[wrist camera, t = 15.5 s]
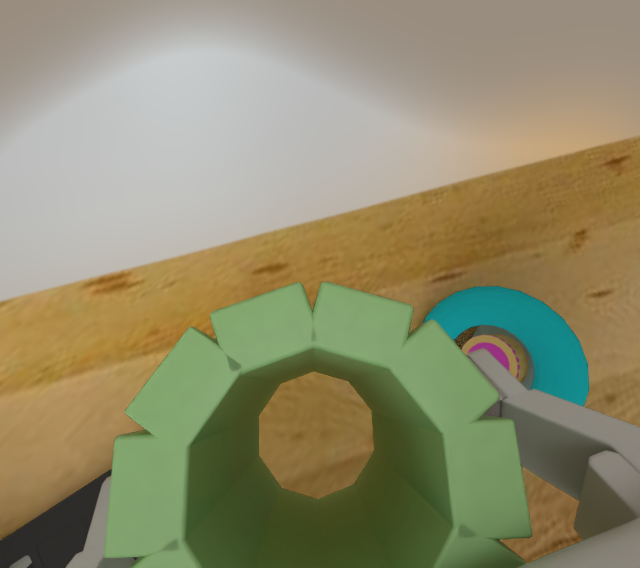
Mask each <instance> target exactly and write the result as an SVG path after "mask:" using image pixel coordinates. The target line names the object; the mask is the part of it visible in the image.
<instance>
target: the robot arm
mask: <svg viewBox="0 0 640 568" xmlns="http://www.w3.org/2000/svg"><path fill="white" fill-rule="evenodd" d="M465 355H466V356H467V357H468V358H469V359H470V360H471V362H472V363H473V364H474V365H475V366H476V367H477V368H478V370H479V371H480V372H481V373H482V374H483V375H484V376H485V378H486V379H487V380H488V381H489V382H490V383H491V385H492V386H493V387H494V388H495V389H496V390H497V391H498V393H499V395H500V398H499V400H498V401H497V402H496V403H495V404H494V405H493V406H491V407H490V408H489V409H488V410H487V411H486V412H485V413H484V414H483V415H487V416H494V417H501V418H508V419H512V420H513V421H514V424H515V430H516V437H517V443H518V449H519V455H520V461H521V466H522V467H524V468H525V469H527V470H529V471H530V472H532V473H534V474H535V475H537V476H539V477H540V478H542V479H544V480H545V481H547V482H549V483H550V484H552V485H554V486H555V487H557V488H559V489H560V490H562V491H564V492H565V493H567V494H569V495H570V496H572V497H574V498H575V499H577V500H579V503H578V508H577V512H576V517H575V522H574V529H575V530H576V531H577V533H578V534H579V535H580V537H581V538H582V539H583V541H581V542H578V543H576V544H573V545H571V546H568V547H566V548H563V549H561V550H559V551H556V552H554V553H551V554H549V555H546V556H544V557H541V558H539V559H537V560H534V561H532V562H529V563H527V564H524V565H522V566H519V567H517V568H640V427H639V426H636V425H633V424H630V423H627V422H625V421H622V420H619V419H616V418H614V417H611V416H608V415H605V414H603V413H600V412H597V411H594V410H591V409H589V408H586V407H583V406H580V405H578V404H575V403H572V402H569V401H567V400H564V399H561V398H558V397H556V396H553V395H550V394H547V393H544V392H542V391H539V390H536V389H531V390H527V389H526V388H525V387H524V386H523V385H522V384H521V383H520V382H519V381H518V380H517V379H516V378H515V377H514V376H513V375H512V374H511V373H510V372H509V371H508V370H507V369H506V368H505V367H504V366H503V365H502V364H501V363H500V362H499V361H498V360H497V359H496V358H495V357H494V356H493V355H492V354H491V353H490V352H489V351H488V350H486V349H484V348H481V349H478V350H475V351H472V352H470V353H467V354H465ZM110 483H111V476H110V477H107V478H106V480H105V481H104V482H103V484H102V486H101V490H100V493H99V497H98V500H97V504H96V507H95V511H94V514H93V518H92V521H91V525H90V528H89V532H88V535H87V539H86V543H85V546H84V550H83V551H82V552H80V553H77V554H76V555H75V556H74V557H73V559H72V560H71V561H70V563H69V564H68V565H67V566H66V568H128V567H129V566H130V565H131V564H132V563H134V562H135V561H136V560H137V559H138V558H139V557H126V558H106V557H104V545H105V535H106V525H107V514H108V504H109V493H110Z"/></svg>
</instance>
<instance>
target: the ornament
mask: <svg viewBox="0 0 640 568" xmlns="http://www.w3.org/2000/svg"><path fill="white" fill-rule="evenodd" d="M432 319H433V320H435V321H437V323H438V324H439V325H440V326H441V327H442V328H443V329H444V331H445V332H446V333H447V334H448V335H449V336H450V338H451V339H452V340H453V341H454V340H455V339H456V338H457V337H458V336H459V335H460V334H461V333H462V332H463V331H465V330H467V329H469V328H471V327H475V326H478V328H477V330H476V331H475V333H474V335H473V336H472V338H471V339H470V340H468V341H467V342H466V343H465V344H464V346H463V347H462V349H461V350H462V351H463V352H464V354H467V353H470V352H472V351H475V350H478V349H481V348H484V349H486V350H488V351H489V352H490V353H491V354H492V355H493V356H494V357H495V358H496V359H497V360H498V361H499V362H500V363H501V364H502V365H503V366H504V367H505V368H506V369H507V370H508V371H509V372H510V373H511V374H512V375H513V376H514V377H515V378H516V379H517V380H518V381H519V382H520V383H521V384H522V385H523V386H524V387H525V388H526V389H527V390H531V389H536V390H539V391H542V392H544V393H547V394H550V395H553V396H556V397H558V398H561V399H564V400H567V401H569V402H572V403H575V404H578V405H580V406H583V407H584V404H585V401H586V398H587V395H588V391H589V376H588V363H587V360H586V358H585V355H584V352H583V350H582V347H581V344H580V341H579V339H578V338H577V337H576V335H575V334H574V333H573V331H572V330H571V328H570V327H569V326H568V324H567V323H566V322H565V320H564V319H563V318H562V317H561V316H559V315H558V314H557V313H556V312H555V311H553V310H552V309H551V308H550V307H549V306H547V305H546V304H545V303H544V302H542V301H540V300H538V299H536V298H534V297H532V296H529V295H527V294H525V293H523V292H521V291H517V290H513V289H508V288H504V287H499V286H484V287H473V288H469V289H466V290H462V291H459V292H456V293H454V294H452V295H450V296H449V297H447V298H445V299H444V300H442V301H440V302H439V303H438V304H437V305H436V306H435V307H434V308H433V309H432V310H431V311H430V312H429V314H428V315H427V316H426V318H425V320H424V322H423V324H424V323H425V322H427V321H428V320H432Z"/></svg>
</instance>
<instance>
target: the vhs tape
mask: <svg viewBox="0 0 640 568" xmlns="http://www.w3.org/2000/svg"><path fill="white" fill-rule="evenodd" d="M111 473H112V469H111V470H109V471H108V472H106V473H104V474H103V475H101V476H100V477H98V478H97V479H95V480H94V481H92V482H91V483H89V484H87V485H86V486H84V487H83V488H81V489H80V490H78V491H77V492H75V493H74V494H72V495H71V496H69V497H67V498H66V499H64V500H63V501H61V502H60V503H58V504H57V505H55V506H54V507H52V508H50V509H49V510H47V511H46V512H44V513H43V514H41V515H40V516H38V517H37V518H35V519H33V520H32V521H30V522H29V523H27V524H26V525H24V526H23V527H21V528H20V529H18V530H16V531H15V532H13V533H12V534H10V535H9V536H7V537H6V538H4V539H3V540H1V541H0V568H66V566H67V565H68V564H69V563H70V561H71V560H72V559H73V557H74V556H75V555H76V554H77V553H80V552H82V551H83V550H84V546H85V543H86V539H87V535H88V532H89V528H90V525H91V521H92V518H93V514H94V511H95V507H96V504H97V500H98V497H99V493H100V490H101V486H102V484H103V482H104V481H105V480H106V478H107V477H110V476H111Z"/></svg>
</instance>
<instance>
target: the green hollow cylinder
mask: <svg viewBox="0 0 640 568" xmlns="http://www.w3.org/2000/svg"><path fill="white" fill-rule="evenodd" d="M412 316H413V307H412V306H411V305H410V304H407V303H403V302H399V301H396V300H392V299H388V298H385V297H381V296H378V295H374V294H370V293H367V292H363V291H359V290H356V289H352V288H348V287H345V286H341V285H338V284H334V283H330V282H322V284H321V285H320V287H319V291H318V294H317V298H316V301H315V304H314V308H313V311H312V308H311V305H310V303H309V300H308V297H307V295H306V292H305V289H304V286H303V285H302V283H301V282H296V283H293V284H290V285H287V286H284V287H282V288H279V289H276V290H273V291H270V292H267V293H264V294H261V295H259V296H256V297H253V298H250V299H247V300H244V301H241V302H238V303H236V304H233V305H230V306H227V307H224V308H221V309H218V310H216V311H213V312H212V313H211V315H210V319H211V322H212V325H213V329H214V332H215V335H216V339H215V338H213V337H211V336H209V335H207V334H206V333H204V332H202V331H200V330H198V329H196V328H194V327H191V326H190V327H189V328H188V329H187V331H186V332H185V333H184V334H183V336H182V337H181V338H180V340H179V341H178V342H177V344H176V345H175V346H174V347H173V349H172V350H171V351H170V353H169V354H168V355H167V357H166V358H165V359H164V360H163V362H162V363H161V364H160V366H159V367H158V368H157V370H156V371H155V372H154V373H153V375H152V376H151V377H150V379H149V380H148V381H147V383H146V384H145V385H144V386H143V388H142V389H141V390H140V392H139V393H138V394H137V396H136V397H135V398H134V399H133V401H132V402H131V403H130V405H129V406H128V407H127V409H126V410H125V413H126V415H128V416H129V417H130V418H132V419H133V420H134V421H135V422H137V423H138V424H139V425H141V426H142V427H143V428H145V430H141V431H136V432H132V433H128V434H123V435H120V436H117V437H116V439H115V441H114V452H113V462H112V473H111V483H110V493H109V504H108V514H107V525H106V535H105V545H104V557H106V558H126V557H139V558H138V559H137V560H136V561H135V562H134V563H132V564H131V565H130V566H129V567H128V568H517V567H519V566H522V565H524V564H527V563H526V561H524V560H523V559H522V558H521V557H520V556H518V555H517V554H516V553H515V552H513V551H512V550H511V549H510V548H508V547H507V546H506V545H505V544H503V543H502V542H501V541H500V540H498V539H513V538H530V537H532V528H531V522H530V516H529V510H528V504H527V498H526V492H525V486H524V479H523V473H522V467H521V461H520V455H519V449H518V443H517V437H516V430H515V424H514V421H513V420H512V419H508V418H501V417H494V416H487V415H483V414H484V413H485V412H486V411H487V410H488V409H489V408H490V407H491V406H493V405H494V404H495V403H496V402H497V401H498V400H499V398H500V395H499V393H498V391H497V390H496V389H495V388H494V387H493V386H492V385H491V383H490V382H489V381H488V380H487V379H486V378H485V376H484V375H483V374H482V373H481V372H480V371H479V370H478V368H477V367H476V366H475V365H474V364H473V363H472V362H471V360H470V359H469V358H468V357H467V356H466V355H465V354H464V352H463V351H462V350H461V349H460V348H459V347H458V346H457V344H456V343H455V342H454V341H453V340H452V339H451V338H450V336H449V335H448V334H447V333H446V332H445V331H444V329H443V328H442V327H441V326H440V325H439V324H438V323H437V321H435V320H433V319H432V320H428V321H427V322H425V323H424V324H422V325H420V326H419V327H417V328H415V329H414V330H412V331H411V332H409V329H410V325H411V320H412ZM313 371H315V372H319V373H322V374H325V375H329V376H332V377H336V378H339V379H343V380H346V381H349V382H350V384H351V385H352V386H353V388H354V389H355V390H356V391H357V393H358V394H359V395H360V397H361V398H362V399H363V400H364V402H365V403H366V404H367V405H368V407H369V408H370V409H371V411H372V425H373V439H374V451H373V453H372V455H371V457H370V458H369V460H368V462H367V463H366V465H365V467H364V469H363V470H362V472H361V474H360V475H359V477H358V479H357V481H356V482H355V484H354V485H352V486H349V487H347V488H344V489H342V490H339V491H337V492H335V493H332V494H330V495H327V496H325V497H323V498H320V499H316V498H313V497H309V496H306V495H303V494H300V493H297V492H293V491H290V490H287V489H284V488H281V486H280V485H279V483H278V482H277V481H276V479H275V478H274V476H273V475H272V473H271V472H270V470H269V469H268V468H267V466H266V465H265V463H264V462H263V460H262V459H261V457H260V456H259V415H260V413H261V412H262V410H263V409H264V407H265V406H266V404H267V403H268V402H269V400H270V399H271V397H272V396H273V394H274V393H275V391H276V390H277V388H278V387H279V385H280V384H281V383H284V382H287V381H289V380H292V379H295V378H297V377H300V376H303V375H305V374H308V373H311V372H313Z"/></svg>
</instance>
